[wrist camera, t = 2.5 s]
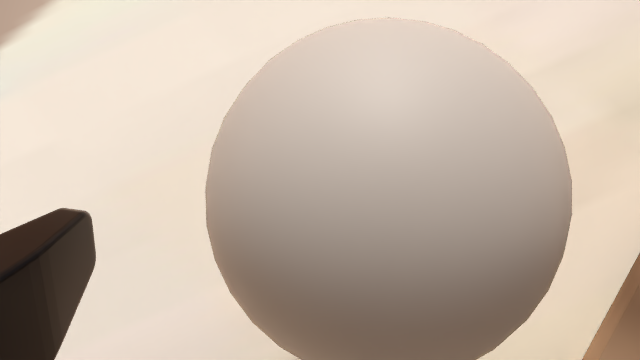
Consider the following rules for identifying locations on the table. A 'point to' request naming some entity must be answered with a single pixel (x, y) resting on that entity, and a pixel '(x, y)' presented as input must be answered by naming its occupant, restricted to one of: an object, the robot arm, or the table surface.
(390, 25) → the lightbulb
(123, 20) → the table surface
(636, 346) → the socket board
